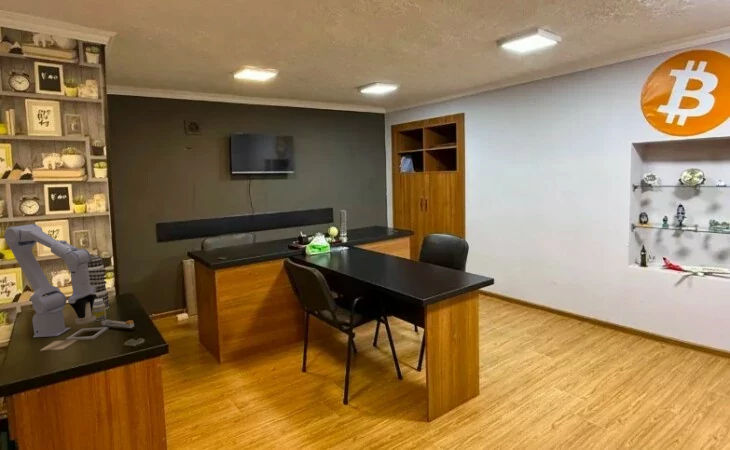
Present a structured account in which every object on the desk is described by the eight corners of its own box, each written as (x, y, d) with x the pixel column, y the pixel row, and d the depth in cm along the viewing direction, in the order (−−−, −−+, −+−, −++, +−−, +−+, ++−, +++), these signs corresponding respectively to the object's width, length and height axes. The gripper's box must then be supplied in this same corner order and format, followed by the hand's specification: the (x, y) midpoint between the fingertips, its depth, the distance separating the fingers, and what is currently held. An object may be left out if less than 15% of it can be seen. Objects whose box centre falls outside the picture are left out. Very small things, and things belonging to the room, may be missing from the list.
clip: (128, 328, 165) (128, 322, 164) (99, 324, 170) (99, 319, 170) (135, 325, 167) (134, 320, 167) (106, 322, 173) (105, 316, 173)
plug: (71, 324, 160) (68, 306, 159) (82, 318, 167) (79, 300, 166) (90, 323, 161) (87, 305, 160) (100, 317, 167) (97, 299, 166)
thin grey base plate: (100, 329, 170) (100, 325, 170) (104, 326, 173) (104, 322, 172) (108, 328, 170) (107, 324, 170) (111, 326, 173) (111, 322, 172)
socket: (66, 340, 159) (66, 338, 159) (82, 330, 169) (81, 328, 169) (93, 338, 160) (93, 336, 160) (108, 329, 170) (107, 327, 170)
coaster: (40, 351, 150) (39, 350, 150) (54, 342, 158) (54, 341, 158) (63, 350, 151) (63, 348, 151) (77, 340, 159) (77, 339, 158)
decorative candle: (115, 307, 198) (108, 254, 194) (95, 313, 189) (88, 258, 186) (102, 305, 201) (95, 253, 198) (82, 311, 193) (75, 257, 190)
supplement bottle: (97, 317, 184) (95, 298, 183) (108, 316, 185) (106, 298, 183) (91, 321, 179) (88, 302, 178) (103, 320, 180) (100, 301, 179)
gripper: (80, 286, 155) (84, 321, 157) (102, 276, 169) (106, 308, 171) (60, 287, 154) (65, 322, 156) (83, 276, 169) (87, 309, 170)
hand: (85, 315), depth 163 cm, fingers closed on plug, 4 cm apart
